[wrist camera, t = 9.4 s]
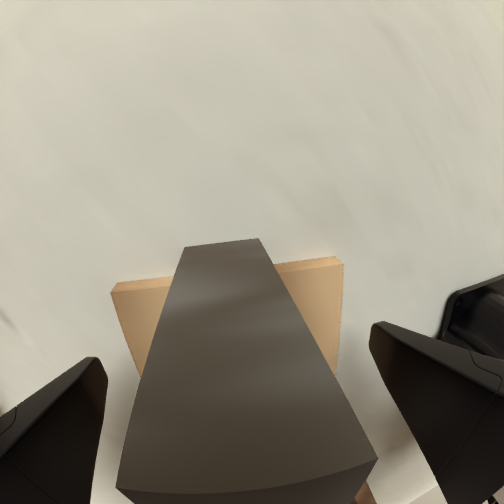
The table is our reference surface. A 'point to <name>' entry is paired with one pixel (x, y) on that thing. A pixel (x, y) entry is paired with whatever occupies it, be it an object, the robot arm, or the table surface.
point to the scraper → (239, 383)
